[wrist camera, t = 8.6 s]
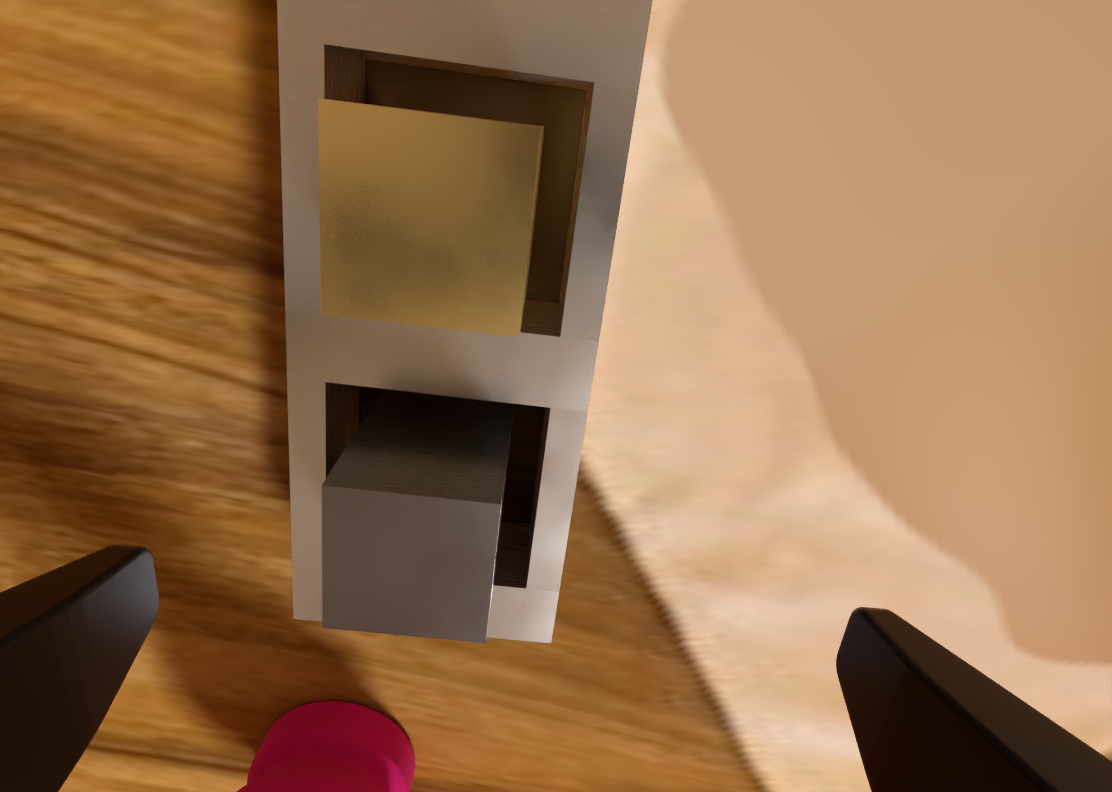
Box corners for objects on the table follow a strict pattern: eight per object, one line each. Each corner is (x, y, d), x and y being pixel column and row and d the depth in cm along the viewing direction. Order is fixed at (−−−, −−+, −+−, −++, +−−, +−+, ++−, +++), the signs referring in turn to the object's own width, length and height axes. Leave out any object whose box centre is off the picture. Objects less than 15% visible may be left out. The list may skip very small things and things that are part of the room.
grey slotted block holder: (551, 573, 24) (551, 737, 18) (328, 551, 24) (245, 711, 17) (635, 12, 17) (684, -55, 11) (327, -34, 17) (190, -131, 11)
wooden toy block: (396, 252, 20) (321, 314, 13) (400, 107, 18) (318, 98, 12) (529, 268, 20) (519, 336, 14) (544, 126, 19) (540, 126, 12)
